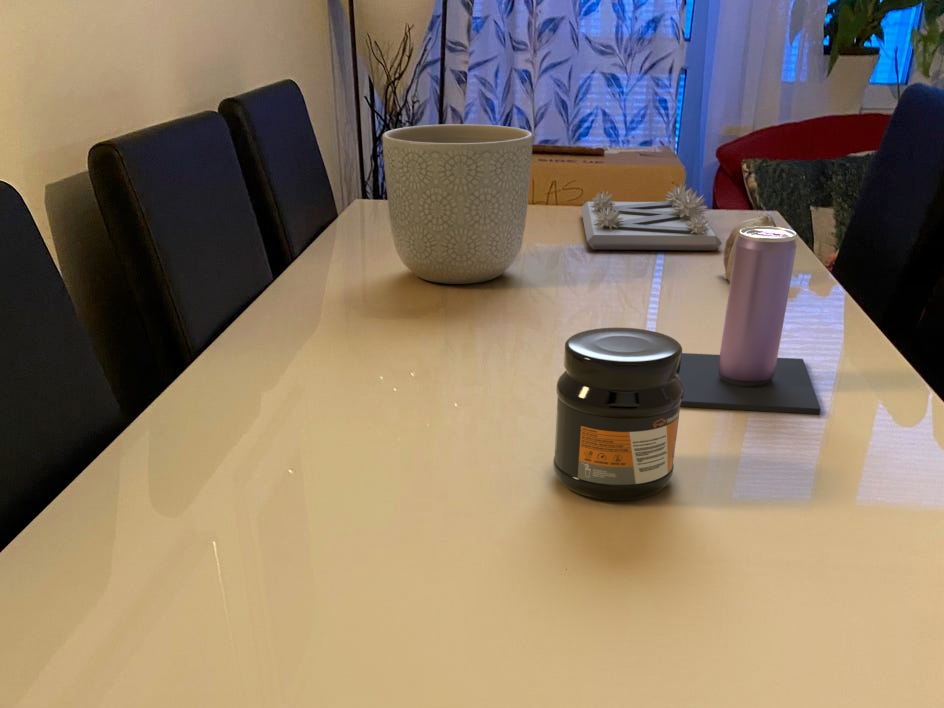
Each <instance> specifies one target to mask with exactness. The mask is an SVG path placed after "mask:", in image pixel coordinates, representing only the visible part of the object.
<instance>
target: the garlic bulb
mask: <svg viewBox="0 0 944 708" xmlns="http://www.w3.org/2000/svg"><path fill="white" fill-rule="evenodd" d="M748 227H777V224H776V221H775V220H774V217H773V216H771V214H769V212H768V211H763V212H762V213H760V214H759V215H758V217H754V218H750V219H744V220H742V221H741V222H739V223H737V224H736V225H735V226H734V227H733V228H732V229H731V231H730V234H729V236H728V238H727V239H726V240H725V247H724V250H723V260H722V261H723V266H724V272H725V273H723V277H724V279H725V280H728V281H727V282H730V280H731V272H732V265H733V258H734V251H735V244H736V241H737V239H738V237H739V231H740V230H741V229H743V228H748Z"/></svg>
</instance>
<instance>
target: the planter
mask: <svg viewBox="0 0 944 708" xmlns="http://www.w3.org/2000/svg"><path fill="white" fill-rule="evenodd" d="M533 137H534V136H533V133H532V132H531V131H530V130H527V129H523V128H519V127H514V126H506V125H505V126H504V125H493V124H473V123H471V124H470V123H468V124H467V123H452V124H450V123H449V124H448V123H447V124H427V125H414V126H413V125H412V126H405V127H400V128H394V129H391V130H387V131H385V132H384V133H383V134H382V154H383V156H382V157H383V167H384V178H385V188H386V196H387V206H388V214H389V221H390V228H391V234H392V240H393V244H394V248H395V251H396V254H397V256H398V258H399V259H400V261H401V262H402V264H403V265H404V266H405V267H406V268H407V269H408V270H409V271H410V272H411V273H413V274H414V275H416V276H417V277H419V278H421V279H423V280H426V281H428V282H433V283H439V284H445V285H446V284H449V285H468V284H469V285H470V284H477V283H483V282H488V281H490V280H493V279H496V278H497V277H499V276H501V275H502V274H503V273H505V272H506V271H507V270H508V269H509V268H510V267H511V266H512V265H514V262H515V261H516V259H517V258H518V256H519V254H520V252H521V249H522V246H523V240H524V236H525V229H526V221H527V214H528V204H529V196H530V195H529V194H530V185H531V173H532V162H533V160H532V159H533Z"/></svg>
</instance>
